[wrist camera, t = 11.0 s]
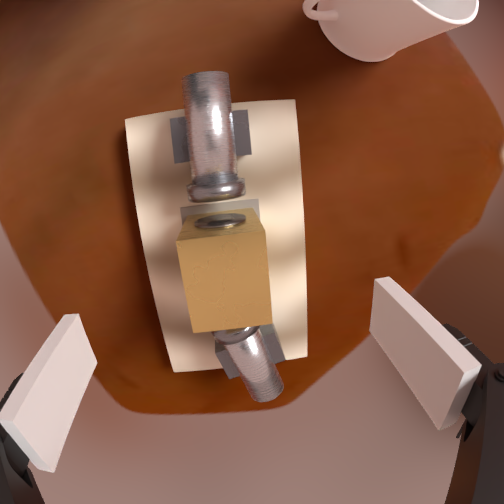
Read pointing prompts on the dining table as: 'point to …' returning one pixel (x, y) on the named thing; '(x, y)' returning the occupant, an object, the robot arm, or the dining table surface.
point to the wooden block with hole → (225, 270)
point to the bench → (257, 197)
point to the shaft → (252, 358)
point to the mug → (386, 23)
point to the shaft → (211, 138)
